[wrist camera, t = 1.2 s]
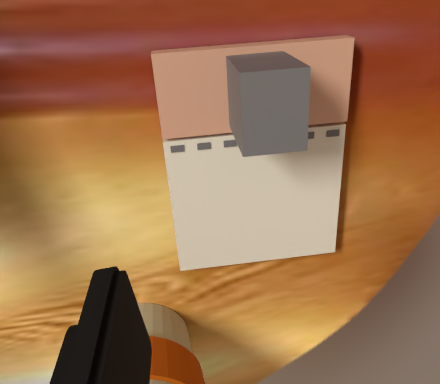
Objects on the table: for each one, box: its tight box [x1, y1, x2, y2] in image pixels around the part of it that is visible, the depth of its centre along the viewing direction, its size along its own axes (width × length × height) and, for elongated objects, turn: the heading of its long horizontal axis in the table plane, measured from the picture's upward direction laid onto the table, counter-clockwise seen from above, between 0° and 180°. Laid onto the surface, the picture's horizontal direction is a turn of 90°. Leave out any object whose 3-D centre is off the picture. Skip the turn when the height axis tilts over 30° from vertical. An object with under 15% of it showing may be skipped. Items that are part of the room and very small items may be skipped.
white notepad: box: [163, 122, 346, 271], centre depth 34 cm, size 12×14×2 cm
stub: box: [151, 35, 355, 157], centre depth 27 cm, size 6×14×8 cm, turn 94°
